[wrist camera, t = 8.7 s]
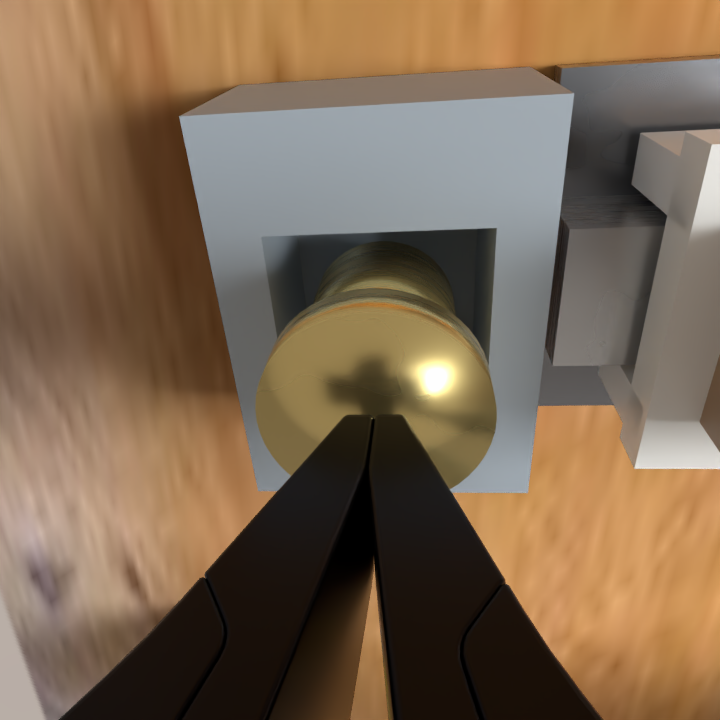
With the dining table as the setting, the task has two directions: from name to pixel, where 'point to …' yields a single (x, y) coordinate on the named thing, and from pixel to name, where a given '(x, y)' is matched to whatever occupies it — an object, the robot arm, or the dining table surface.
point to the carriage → (677, 311)
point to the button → (380, 362)
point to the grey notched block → (389, 217)
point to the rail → (616, 151)
